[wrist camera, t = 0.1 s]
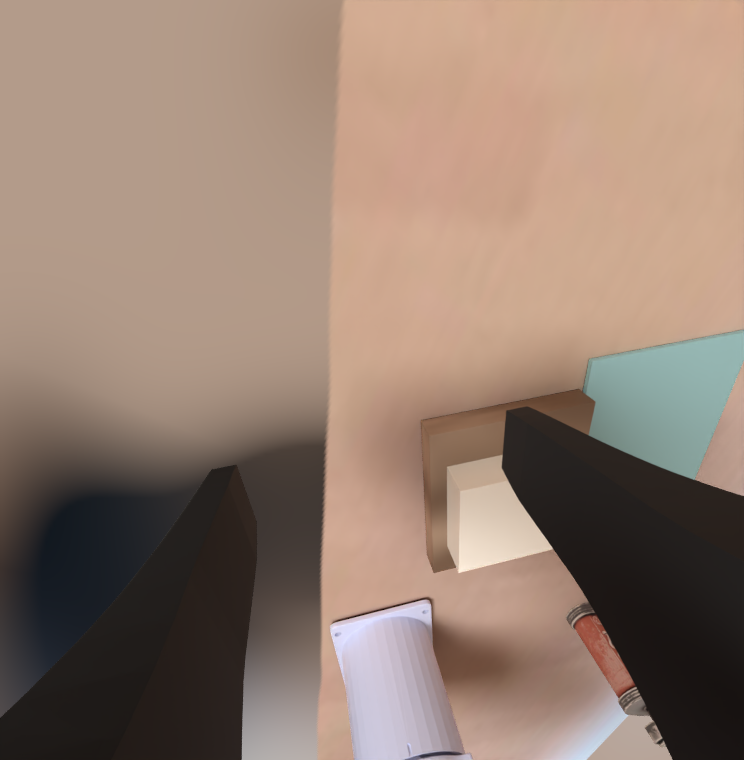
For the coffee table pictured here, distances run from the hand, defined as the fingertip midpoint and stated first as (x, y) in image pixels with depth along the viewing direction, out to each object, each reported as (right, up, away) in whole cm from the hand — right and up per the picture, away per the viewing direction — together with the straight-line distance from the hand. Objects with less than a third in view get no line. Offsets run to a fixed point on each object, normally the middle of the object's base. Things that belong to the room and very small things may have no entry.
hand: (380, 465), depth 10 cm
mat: (+19, -2, +17) cm, 25 cm away
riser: (+8, -4, +16) cm, 18 cm away
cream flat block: (+8, -5, +14) cm, 17 cm away
